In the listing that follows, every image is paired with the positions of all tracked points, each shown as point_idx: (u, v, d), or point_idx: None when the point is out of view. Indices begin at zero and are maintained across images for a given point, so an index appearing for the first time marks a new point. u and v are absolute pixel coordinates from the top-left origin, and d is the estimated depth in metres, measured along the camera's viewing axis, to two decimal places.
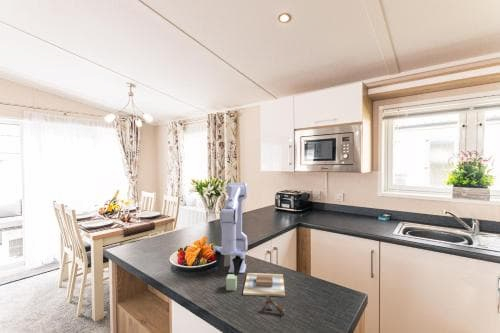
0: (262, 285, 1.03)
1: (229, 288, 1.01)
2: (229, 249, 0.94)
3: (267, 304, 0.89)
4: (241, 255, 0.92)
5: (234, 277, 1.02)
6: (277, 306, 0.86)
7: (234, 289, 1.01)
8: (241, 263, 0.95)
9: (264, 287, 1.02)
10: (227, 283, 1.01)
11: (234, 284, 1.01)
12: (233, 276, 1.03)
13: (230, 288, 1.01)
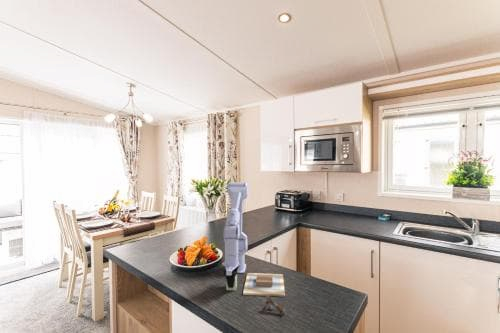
0: (262, 285, 1.03)
1: (229, 288, 1.01)
2: (225, 261, 1.02)
3: (267, 304, 0.89)
4: None
5: None
6: (277, 306, 0.86)
7: (234, 289, 1.01)
8: (233, 278, 1.00)
9: (264, 287, 1.02)
10: None
11: (234, 284, 1.01)
12: None
13: (230, 288, 1.01)
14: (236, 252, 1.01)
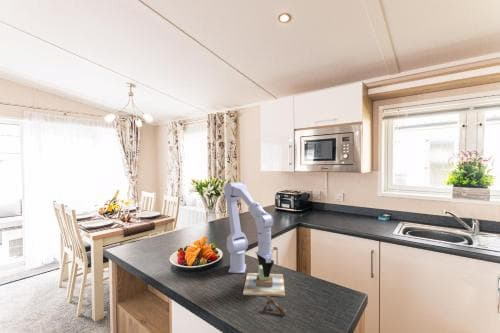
0: (262, 285, 1.03)
1: (263, 278, 1.04)
2: (260, 250, 1.04)
3: (268, 305, 0.89)
4: (266, 259, 0.99)
5: None
6: (278, 306, 0.86)
7: (268, 278, 1.04)
8: (270, 267, 1.01)
9: (264, 287, 1.02)
10: (261, 273, 1.04)
11: None
12: None
13: (264, 278, 1.04)
14: None
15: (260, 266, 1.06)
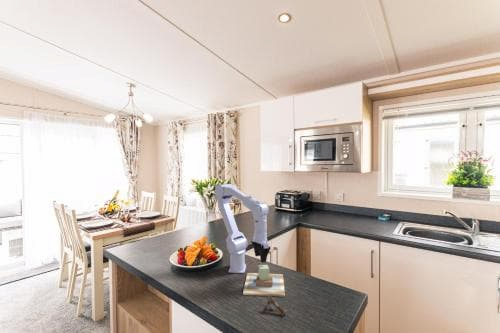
0: (262, 285, 1.03)
1: (263, 278, 1.04)
2: (257, 237, 1.09)
3: (268, 304, 0.89)
4: (263, 245, 1.04)
5: (267, 267, 1.05)
6: (278, 306, 0.86)
7: (268, 278, 1.04)
8: (267, 253, 1.07)
9: (264, 287, 1.02)
10: (261, 273, 1.04)
11: (268, 274, 1.04)
12: (265, 266, 1.06)
13: (264, 278, 1.04)
14: None
15: (260, 266, 1.06)
